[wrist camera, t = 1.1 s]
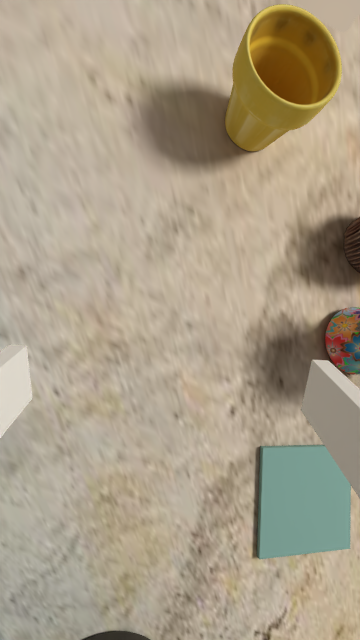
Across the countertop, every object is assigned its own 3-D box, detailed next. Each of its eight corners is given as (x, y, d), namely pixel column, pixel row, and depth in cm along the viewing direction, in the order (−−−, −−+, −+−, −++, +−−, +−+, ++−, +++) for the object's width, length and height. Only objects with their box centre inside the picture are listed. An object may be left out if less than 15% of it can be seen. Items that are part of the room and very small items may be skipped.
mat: (346, 545, 36) (350, 548, 36) (256, 555, 34) (259, 559, 33) (347, 444, 37) (350, 445, 37) (260, 446, 35) (263, 448, 34)
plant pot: (262, 183, 37) (315, 129, 28) (194, 131, 36) (226, 54, 26) (298, 123, 39) (359, 54, 30) (235, 71, 37) (278, -21, 28)
